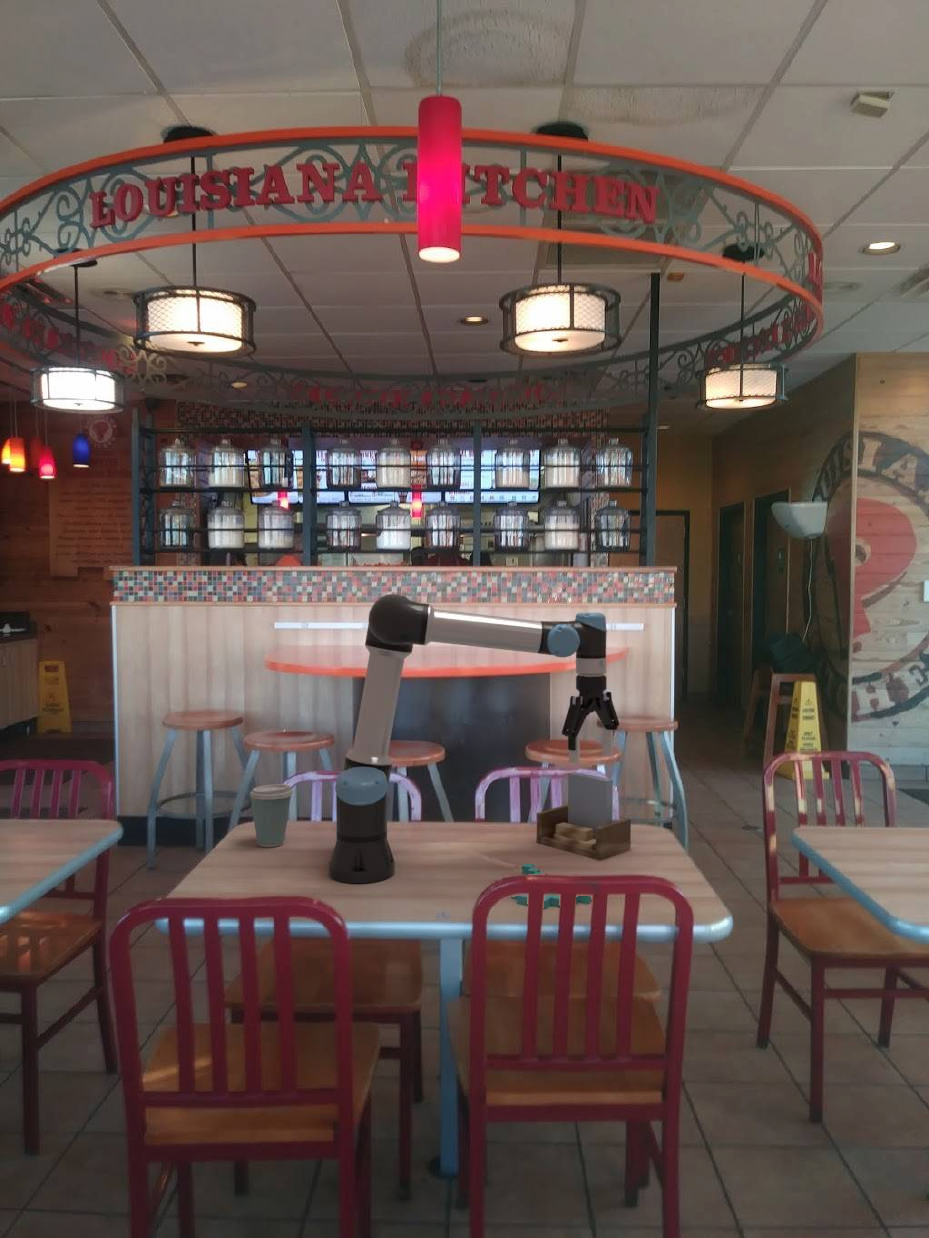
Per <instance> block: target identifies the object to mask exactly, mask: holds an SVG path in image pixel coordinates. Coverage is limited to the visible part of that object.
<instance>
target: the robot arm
mask: <svg viewBox="0 0 929 1238" xmlns="http://www.w3.org/2000/svg"><path fill="white" fill-rule="evenodd" d="M366 631H367V632H366V636H365V637H366V638H365V643H364V646H365V648H366V649H367V651H368V652H369V655H368V663H367V668H366V672H365V679H364V684H363V688H362V689H363V691H362V697H361V702H360V708H359V713H358V717H357V718H358V720H357V725H356V730H355V736H354V742H353V747H352V749H351V750H350V751H348V752H346V753H345V758H344V764H343V769H342V771H341V772H340V773H339V774H338V775H337V776H336V781H335V782H336V783H335V786H334V787H335V793H336V795H335V796H336V798H335V801H336V804H335V805H336V818H335V819H336V841H335V844H334V848H333V851H332V854H331V859H330V861H329V864H328V875H329V877H331V879H333V880H335V881H338V882H342V883H349V884H368V883H370V884H371V883H375V882H380V881H384V880H386V879H387V880H388V879H389V878H390V877H392V876H393V875H394V874H395V872H396V867H395V866H396V865H395V863H396V862H395V859H394V856H393V852H392V850H391V846H390V844H389V840H388V791H389V784H390V779H391V774H392V767H393V759H392V758H391V757H390V755H389V754H388V753H389V749H390V744H391V737H392V731H393V725H394V721H395V720H394V719H395V713H396V710H397V709H396V708H397V703H398V698H399V697H398V696H399V692H400V687H401V681H402V674H403V668H404V663H405V659H406V658H407V657H409V656H410V655H411V654H412V653H413V648H414V645H415V646H416V645H417V646H427V645H428V644H429V643H431V642H432V643H440V644H449V645H457V646H467V647H468V646H469V647H476V648H477V647H479V648H487V649H496V650H503V651H504V650H505V651H514V652H521V653H522V652H523V653H532V654H539V655H548V656H555V657H557V658H569V657H571V656H572V655H574V654H575V673H576V674H577V675H576V676H575V689H576V690H577V691H578V692H579V694H578V696H577V695H571V696H570V698H569V699H570V700H569V706H568V709H567V713H566V715H565V716H566V717H565V721H564V724H563V727H562V731H561V735H563V736H564V737H567V748H568V763H569V764H575V765H580V764H581V763H580V762H581V760H580V757H581V756H580V755H581V753H580V751H581V750H580V745H581V744H580V739H581V738H580V736H578V735H579V734H580V731H581V729H582V727H583V725H584V723H585V720H586V718H587V717H588V716H589V715H590V714H591V713H596V715H597V717H598V719H599V720H600V723H602V725H603V727H604V728H603V729H602V755H604V756H609V757H613V756H614V731H617V730H618V727H619V726H620V721H619V718H618V715H617V711H616V708H615V706H614V702H613V697H612V695H613V694H612V692H611V691H608V690H607V676H606V675H605V674H606V673H607V632H608V630H607V619H606V615H605V614H604V613H602V612H578V613H576V614H575V618H574V620H569V621H567V620H566V621H565V620H564V621H563V620H562V621H561V620H560V621H558V620H555V621H554V620H553V621H552V620H551V621H548V620H547V621H543V620H530V619H521V618H515V617H513V618H512V617H506V616H495V615H486V614H481V613H471V612H463V611H462V612H461V611H453V610H445V609H436V608H434V607H433V605H431V604H429V603H423V602H418V601H413V600H410V599H409V598H408V597H406V596H404V595H401V594H395V593H389V594H385V595H383V596H381V597H379V598H378V599H377V600H376V601H375V602H374V603H373V605H372V606H371V609H370V610H369V614H368V624H367V630H366ZM606 690H607V691H606Z"/></svg>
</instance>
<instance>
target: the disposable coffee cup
mask: <svg viewBox="0 0 929 1238" xmlns="http://www.w3.org/2000/svg"><path fill="white" fill-rule="evenodd" d="M292 795H293V790H292V789H291V785H290V784H286V783H278V784H267V785H266V784H265V785H260V786H257V787H254V788H253V789H252V790H251V791H250V793H249V797H250V801H251V802H250V803H251V808H252V816H253V823H254V829H255V837H256V842H257V845H258V846H259V847H262V848H275V847H279V846H283V844H284V842H285V838H286V831H287V826H288V824H287V823H288V819H289V818H288V817H289V811H290V804H291V797H292Z"/></svg>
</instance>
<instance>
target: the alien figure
mask: <svg viewBox="0 0 929 1238" xmlns="http://www.w3.org/2000/svg"><path fill="white" fill-rule="evenodd" d="M535 866H536V864H533V863H528V862H526V863H525V864H523V865H522V866H521V867H522V869H521V870H522V871H521V874H523V875H527V874H545V875H546V873H545V872H541V868H537V867H536V868H535ZM510 875H511V874H509V875H508V876H510ZM559 898H560V897H559V896H558V895H546V897H545V901H544V909H543V910H547V909H549V907H557V908H560V907H559ZM511 899H514V900H516V904H518V905H523V906H527V895H518V896H515V897H512V896H511ZM591 902H592V901H591V897H590V896H578V897H576V905H577V904H579V903H580V904H586V905H589V904H590V903H591Z"/></svg>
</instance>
